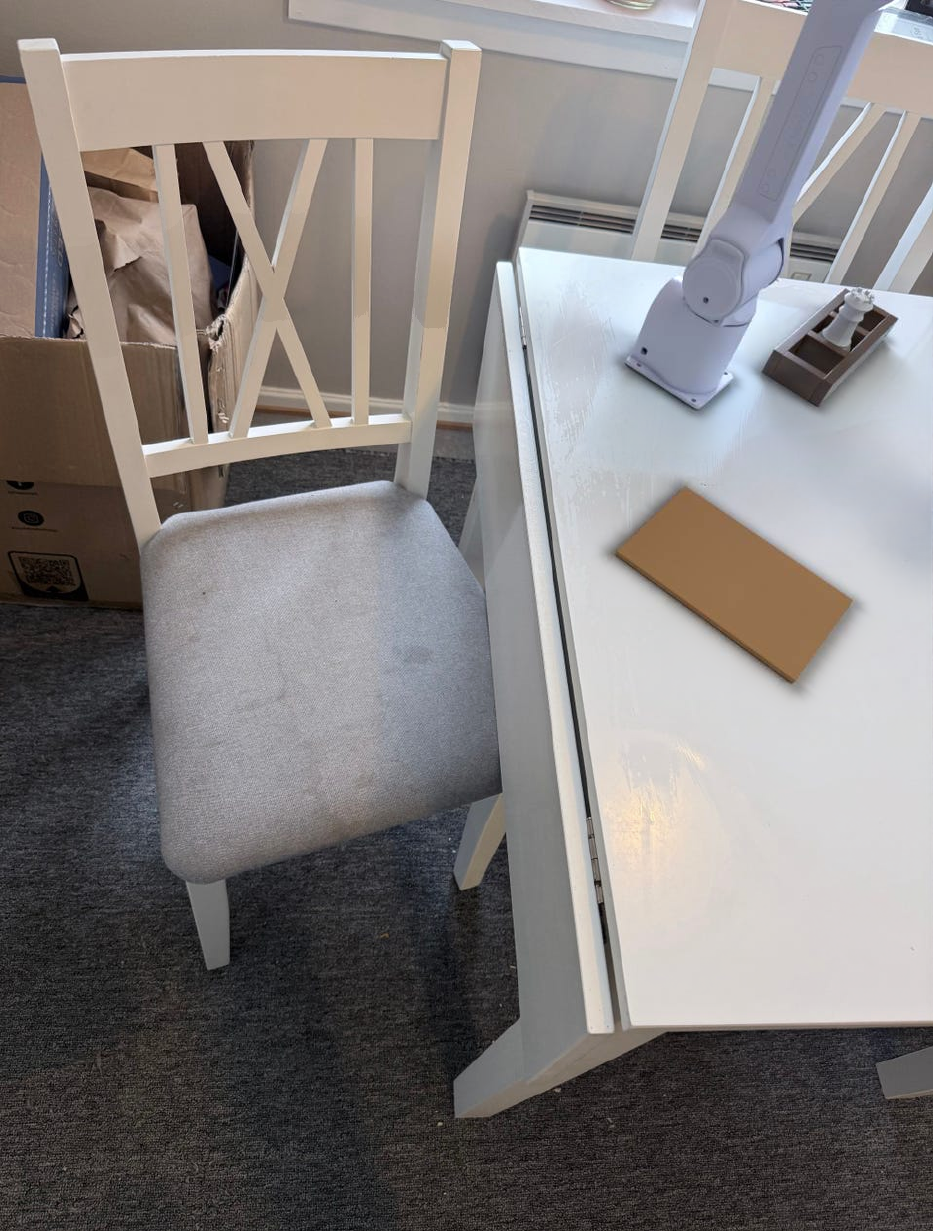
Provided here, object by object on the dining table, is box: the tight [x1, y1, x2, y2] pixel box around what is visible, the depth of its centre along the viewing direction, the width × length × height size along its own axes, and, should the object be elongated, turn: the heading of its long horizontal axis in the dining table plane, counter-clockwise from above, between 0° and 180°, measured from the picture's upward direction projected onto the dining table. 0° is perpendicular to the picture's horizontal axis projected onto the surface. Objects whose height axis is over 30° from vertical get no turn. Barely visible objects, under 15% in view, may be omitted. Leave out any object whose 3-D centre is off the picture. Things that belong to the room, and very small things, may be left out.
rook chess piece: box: [818, 286, 876, 352], centre depth 94 cm, size 4×4×8 cm
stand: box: [761, 287, 899, 407], centre depth 96 cm, size 7×20×3 cm, turn 140°
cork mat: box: [615, 485, 854, 684], centre depth 74 cm, size 18×12×1 cm, turn 50°
